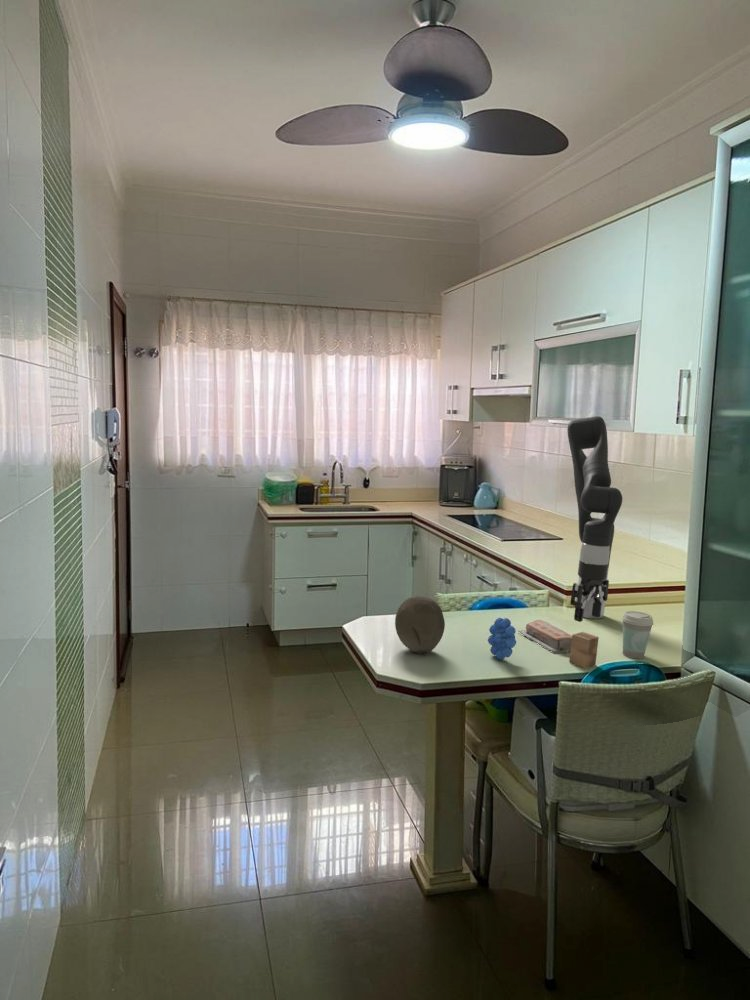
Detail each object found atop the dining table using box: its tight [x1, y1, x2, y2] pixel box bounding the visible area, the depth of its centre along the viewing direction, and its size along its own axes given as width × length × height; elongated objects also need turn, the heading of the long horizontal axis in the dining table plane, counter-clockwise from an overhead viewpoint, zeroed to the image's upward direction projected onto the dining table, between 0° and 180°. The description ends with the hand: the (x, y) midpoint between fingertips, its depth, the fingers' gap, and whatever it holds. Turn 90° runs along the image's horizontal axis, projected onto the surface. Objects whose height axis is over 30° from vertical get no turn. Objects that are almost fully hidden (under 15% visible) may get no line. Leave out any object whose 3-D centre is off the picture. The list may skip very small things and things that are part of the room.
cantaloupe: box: [394, 595, 446, 654], centre depth 200 cm, size 14×14×15 cm
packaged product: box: [517, 619, 572, 654], centre depth 216 cm, size 18×5×10 cm
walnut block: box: [568, 631, 599, 669], centre depth 199 cm, size 5×5×8 cm
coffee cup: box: [621, 610, 654, 660], centre depth 209 cm, size 9×8×12 cm
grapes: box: [487, 617, 517, 661], centre depth 198 cm, size 12×7×12 cm, turn 23°
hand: (587, 618), depth 198 cm, fingers open, 8 cm apart
